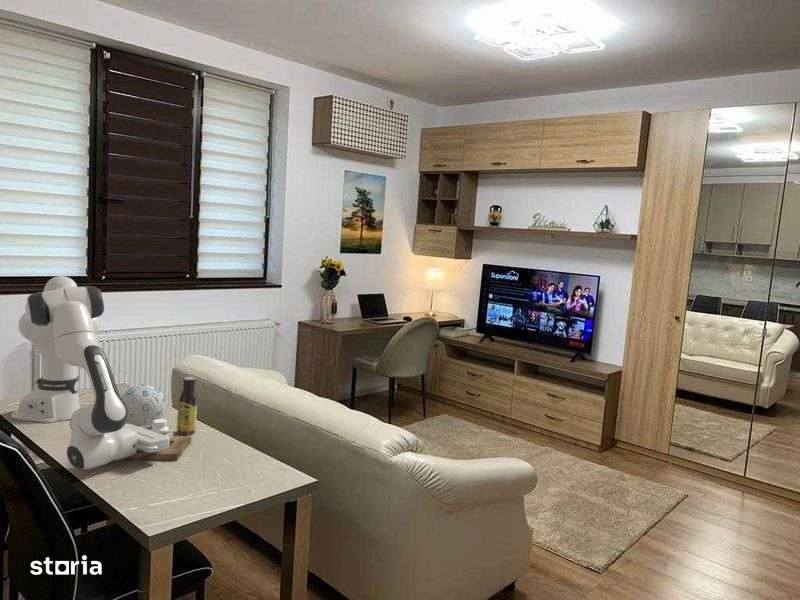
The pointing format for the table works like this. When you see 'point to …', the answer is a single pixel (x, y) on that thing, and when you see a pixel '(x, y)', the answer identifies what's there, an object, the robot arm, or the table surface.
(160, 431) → the supplement bottle
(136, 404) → the puzzle ball
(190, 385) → the sauce bottle
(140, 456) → the socket block
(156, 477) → the table surface
